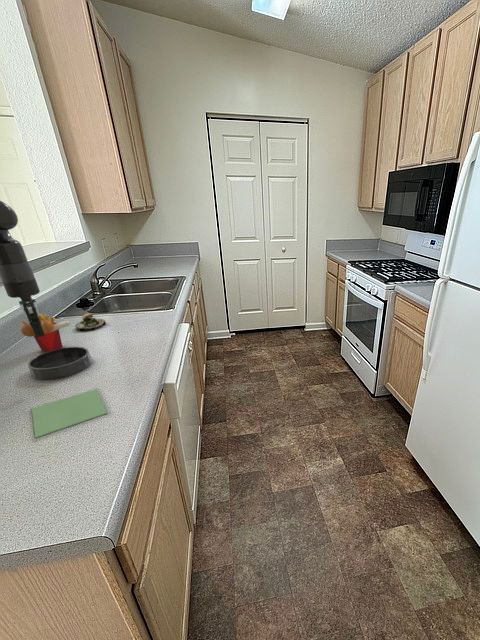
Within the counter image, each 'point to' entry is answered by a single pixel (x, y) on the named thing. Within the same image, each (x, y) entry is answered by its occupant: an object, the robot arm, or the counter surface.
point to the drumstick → (43, 327)
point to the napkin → (67, 412)
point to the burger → (89, 322)
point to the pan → (59, 363)
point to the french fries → (48, 337)
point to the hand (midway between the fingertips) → (39, 333)
